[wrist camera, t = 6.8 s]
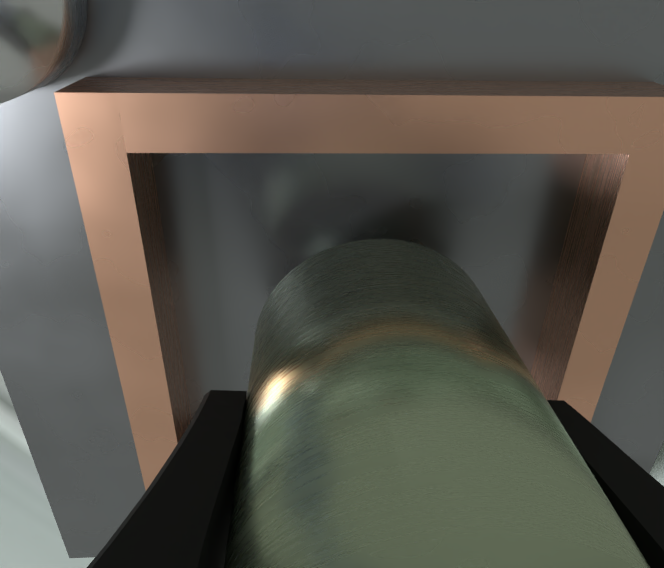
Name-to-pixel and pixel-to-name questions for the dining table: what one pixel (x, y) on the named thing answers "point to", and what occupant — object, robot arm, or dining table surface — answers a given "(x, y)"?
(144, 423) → the grey square slab
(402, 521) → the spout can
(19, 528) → the dining table surface
